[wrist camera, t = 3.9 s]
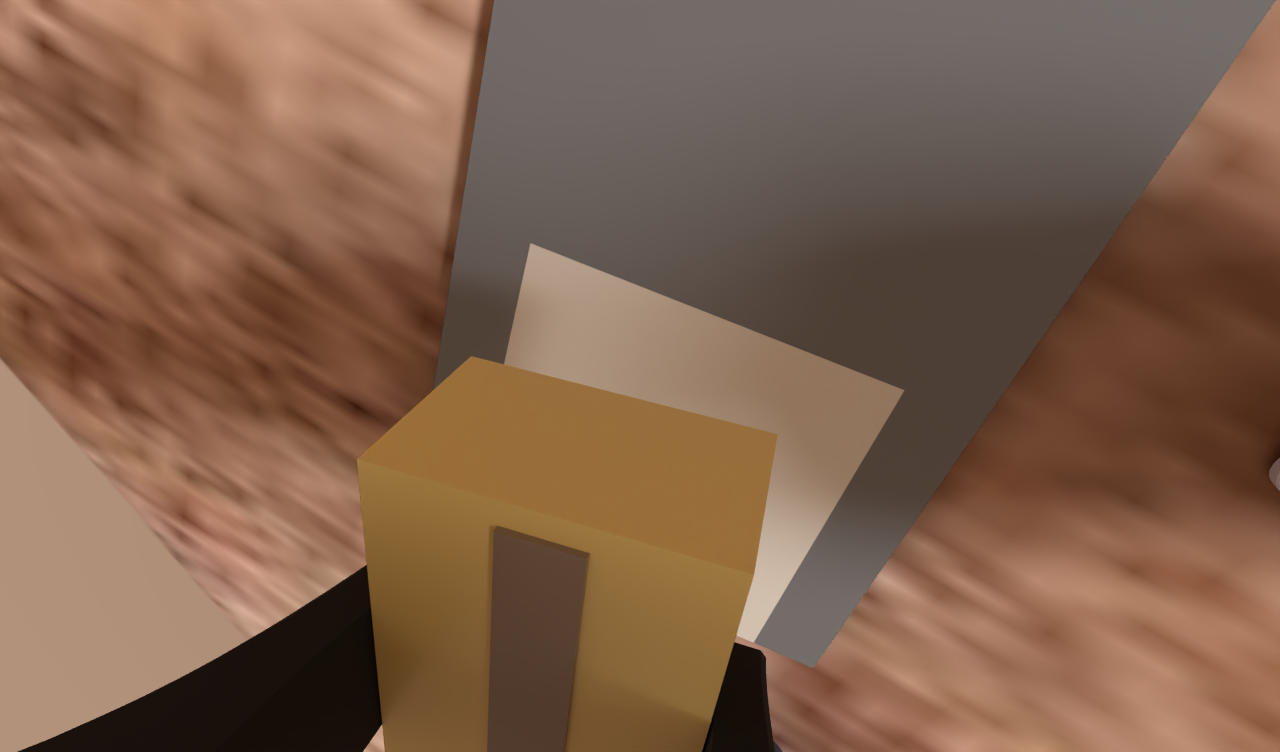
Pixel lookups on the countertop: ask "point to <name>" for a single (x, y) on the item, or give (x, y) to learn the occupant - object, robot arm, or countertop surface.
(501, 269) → the mat
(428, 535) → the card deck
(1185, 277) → the countertop surface
